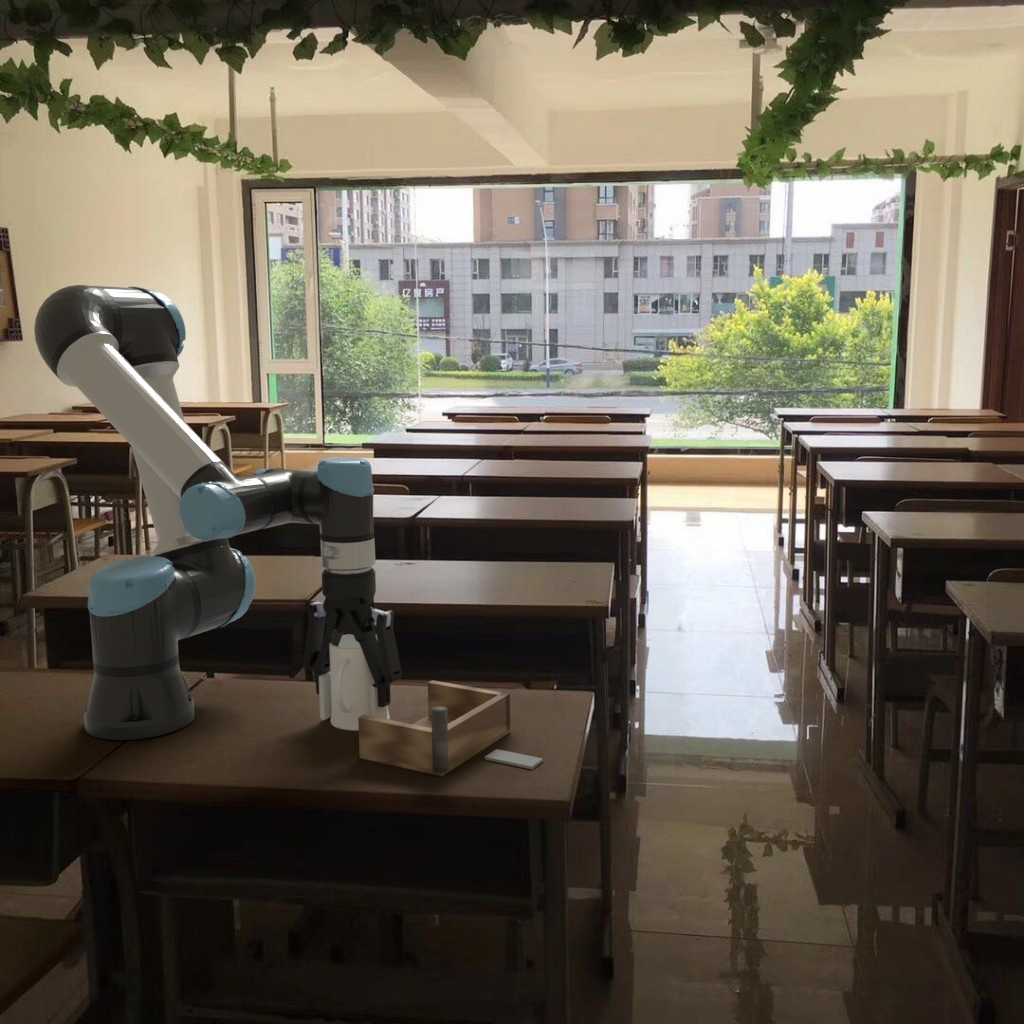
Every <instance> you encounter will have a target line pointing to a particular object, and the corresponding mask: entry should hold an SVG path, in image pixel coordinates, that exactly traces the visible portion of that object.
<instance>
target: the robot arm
mask: <svg viewBox="0 0 1024 1024" xmlns="http://www.w3.org/2000/svg"><path fill="white" fill-rule="evenodd" d="M33 329H34V339H35V343H36V346H37V349H38V352H39V354H40V356H41V358H42V360H43V361H44V363H45V364H46V365H47V367H48V369H50V371H51V372H52V373H53V374H54V375H55V376H56V378H58V379H59V381H60V382H61V383H62V384H64V385H66V386H68V387H73V388H75V387H76V388H77V389H78V390H79V391H80V392H81V393H82V394H83V395H84V396H85V398H87V399H88V401H89V402H90V403H91V404H92V405H93V406H94V407H95V408H96V410H98V411H99V413H101V415H103V417H104V418H105V419H106V420H107V421H108V422H109V423H110V425H112V427H113V428H114V429H115V430H116V431H117V432H118V433H119V434H120V436H122V437H123V438H124V440H126V442H127V443H128V444H129V445H130V446H131V449H132V453H133V456H134V461H135V463H136V467H137V472H138V474H139V478H140V482H141V485H142V488H143V492H144V496H145V500H146V502H147V506H148V510H149V514H150V518H151V521H152V523H153V524H152V525H153V528H154V532H155V535H156V539H157V544H156V546H155V548H154V549H153V551H152V552H151V554H150V556H137V557H134V558H132V559H128V558H126V559H122V560H118V561H115V562H112V563H109V564H106V565H104V566H102V567H100V568H99V569H98V570H97V571H95V572H94V573H92V575H91V577H90V579H89V581H88V599H87V609H88V614H89V627H90V635H91V647H92V649H91V650H92V661H93V662H92V665H93V679H92V683H91V684H92V685H91V687H90V690H89V692H90V693H89V697H88V702H87V706H86V708H85V711H84V713H83V720H84V731H85V732H86V733H87V734H88V735H90V736H92V737H94V738H97V739H102V740H110V741H111V740H112V741H132V740H133V741H134V740H142V739H149V738H155V737H158V736H159V737H160V736H163V735H166V734H169V733H173V732H176V731H178V730H180V729H182V728H184V727H186V726H188V725H190V723H192V721H193V720H194V719H195V715H196V714H195V701H194V698H193V696H192V695H191V694H190V689H189V688H188V685H187V682H186V679H185V677H184V675H183V673H182V670H181V668H180V662H179V661H180V660H179V643H178V642H179V641H180V640H183V639H186V638H190V637H193V636H196V635H199V634H202V633H204V632H208V631H210V630H215V629H219V628H223V627H225V626H227V625H228V624H230V623H232V622H235V621H236V620H238V619H240V618H241V617H242V616H244V615H245V614H246V612H247V611H248V610H249V608H250V605H251V603H252V602H253V600H254V597H255V590H256V577H255V572H254V569H253V566H252V564H251V562H250V560H249V559H248V558H247V556H244V555H243V553H242V552H241V551H240V550H238V549H236V548H232V547H231V545H230V542H229V541H230V540H229V539H230V538H233V537H235V536H238V535H242V534H246V533H250V532H254V531H259V530H264V529H268V528H272V527H276V526H282V525H286V524H291V523H292V524H294V523H295V524H311V525H319V536H320V537H319V538H320V559H321V560H320V561H321V562H320V563H321V567H323V568H324V570H323V571H322V572H321V593H322V595H323V597H325V598H324V601H323V600H317V601H314V602H311V603H308V604H307V605H306V611H307V617H308V620H307V621H308V622H307V631H306V638H305V647H304V654H303V662H302V666H303V667H304V669H306V670H307V669H310V670H311V671H312V673H313V674H314V675H315V676H314V677H315V678H314V679H315V692H316V695H317V696H318V697H319V715H320V717H319V718H320V719H319V720H321V721H322V720H323V721H325V720H327V719H329V718H331V714H332V703H331V677H330V651H329V643H332V644H333V645H334V646H337V647H338V645H339V643H340V640H341V637H342V636H343V635H344V634H345V633H347V634H351V635H354V638H355V640H356V641H357V642H359V644H360V646H361V649H362V651H363V654H364V656H365V659H366V661H367V664H368V666H369V669H370V671H371V674H372V676H373V679H374V682H375V683H374V684H372V685H370V695H371V716H373V717H378V718H383V719H387V705H388V706H389V705H390V704H391V684H392V683H394V682H397V681H398V680H400V679H402V677H403V673H402V672H403V671H402V666H401V662H400V655H399V651H398V646H397V640H396V636H395V631H394V622H395V621H394V619H395V613H394V611H393V610H392V609H390V610H387V611H384V610H381V609H378V608H377V606H376V603H375V599H374V598H375V595H376V592H377V590H376V589H377V585H376V584H377V583H376V581H377V579H376V570H375V569H374V568H373V566H375V564H376V545H375V531H374V493H375V487H374V486H373V475H372V473H373V472H372V465H371V463H370V462H369V461H368V460H367V459H366V458H362V457H329V458H324V459H321V460H320V461H319V462H318V464H317V470H316V471H312V470H311V471H310V470H300V469H299V470H297V469H285V468H283V467H275V468H261V469H258V470H256V471H254V472H253V474H252V475H245V476H237V475H236V474H235V473H234V472H233V470H231V468H230V467H229V466H227V465H226V464H225V462H224V461H222V459H221V458H220V457H219V456H218V455H217V454H216V453H215V451H213V450H212V449H211V448H210V446H209V445H207V443H206V442H205V441H204V440H203V439H202V438H201V437H200V436H199V434H197V433H196V432H195V431H194V430H193V429H192V427H190V426H189V424H188V423H187V422H186V421H185V418H184V415H183V410H182V407H181V404H180V400H179V396H178V393H177V390H176V386H175V382H174V376H175V375H176V373H177V371H178V370H179V368H180V363H179V358H178V357H179V356H181V354H182V352H183V350H184V347H185V344H183V342H184V341H185V340H186V334H187V332H186V325H185V322H184V318H183V315H182V314H181V311H180V309H179V308H178V306H176V304H175V303H174V302H173V301H172V300H171V299H170V298H169V297H168V296H166V295H165V294H163V293H162V292H160V291H158V290H154V289H150V288H149V289H148V288H144V287H139V286H128V287H123V286H122V287H121V286H120V287H119V286H103V285H102V286H101V285H88V284H87V285H85V284H76V285H69V286H65V287H62V288H60V289H58V290H56V291H54V292H53V293H51V294H50V295H49V296H48V297H46V299H45V300H44V301H43V302H42V304H41V305H40V307H39V309H38V310H37V313H36V316H35V321H34V328H33ZM326 617H327V618H328V622H327V625H326ZM373 620H374V622H373ZM325 626H326V627H325ZM365 631H366V632H365ZM376 635H377V638H376ZM377 640H378V641H377ZM381 674H382V675H381Z"/></svg>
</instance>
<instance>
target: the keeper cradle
mask: <svg viewBox="0 0 1024 1024" xmlns="http://www.w3.org/2000/svg"><path fill="white" fill-rule="evenodd" d="M427 704H428V705H427V707H428V715H427V716H425V717H423V718H422V719H420V720H417V721H416V722H415V723H408V722H403V721H398V720H394V719H393V720H392V719H389V720H388V719H383V718H378V717H373V716H368V715H362V716H360V717H358V725H359V731H358V748H359V750H358V751H359V754H358V755H359V758H360V759H363V760H368V761H371V762H376V763H381V764H386V765H390V766H393V767H399V768H402V769H407V770H412V771H417V772H421V773H425V774H428V775H429V774H430V775H434V776H439V777H443V776H445V775H446V774H448V773H450V772H451V771H453V770H454V769H456V768H457V767H459V766H461V765H462V764H464V763H465V762H467V761H468V760H469V759H471V758H473V757H474V756H476V755H477V754H478V753H481V752H482V751H483V750H485V749H487V748H488V747H490V746H491V745H493V744H494V743H495V742H497V741H499V740H500V739H502V738H503V737H505V736H507V735H508V734H510V733H511V693H507V692H501V691H495V690H491V689H484V688H478V687H473V686H469V685H468V686H467V685H461V684H458V683H457V684H455V683H450V682H443V681H440V680H439V681H438V680H433V679H432V680H430V681H428V682H427Z"/></svg>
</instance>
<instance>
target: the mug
mask: <svg viewBox="0 0 1024 1024" xmlns="http://www.w3.org/2000/svg"><path fill="white" fill-rule="evenodd" d="M376 638H377V634H376ZM377 641H378V640H377ZM329 651H330V670H329V671H330V677H331V703H332V714H331V717H330V724H331V726H333V727H334V728H336V729H339V730H343V731H344V730H345V731H353V732H355V731H358V732H359V725H358V717H360V716H362V715H368V716H371V695H370V685H372V684H374V683H375V682H374V679H373V676H372V674H371V671H370V669H369V666H368V664H367V661H366V659H365V656H364V654H363V651H362V649H361V646H360V644H359V642H357V641H356V640H355V638H354V635H351V634H349V633H347V634H343V635H342V637H341V640H340V643H339V645H338V647H337V646H334V645H333V644H332V643H329ZM381 675H382V674H381ZM390 718H391V716H390V713H389V705H387V719H388V720H391V719H390Z"/></svg>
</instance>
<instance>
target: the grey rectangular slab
mask: <svg viewBox="0 0 1024 1024" xmlns="http://www.w3.org/2000/svg"><path fill="white" fill-rule="evenodd" d="M484 760H485V761H490V762H494V763H495V762H496V763H500V764H504V765H508V766H513V767H519V768H523V769H528V770H533V769H535V768H536V767H537V766H539V765H540V764H542V763H543V762H544V759H543V758H541V757H537V756H532V755H528V754H522V753H518V752H514V751H513V752H512V751H507V750H503V749H498V748H497V749H495V750H493V751H492V752H490V753H488V754H487V755H486V756H484Z"/></svg>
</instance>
